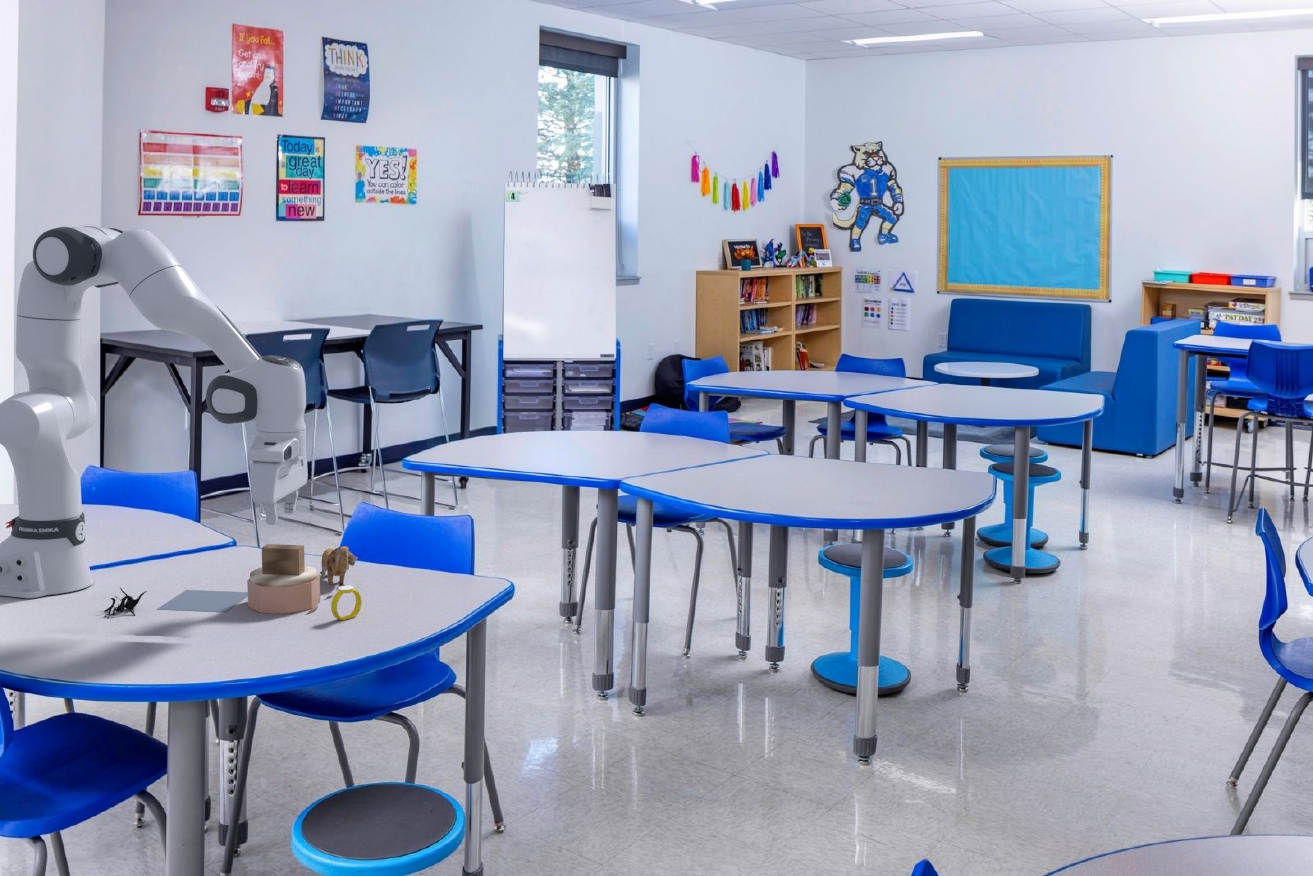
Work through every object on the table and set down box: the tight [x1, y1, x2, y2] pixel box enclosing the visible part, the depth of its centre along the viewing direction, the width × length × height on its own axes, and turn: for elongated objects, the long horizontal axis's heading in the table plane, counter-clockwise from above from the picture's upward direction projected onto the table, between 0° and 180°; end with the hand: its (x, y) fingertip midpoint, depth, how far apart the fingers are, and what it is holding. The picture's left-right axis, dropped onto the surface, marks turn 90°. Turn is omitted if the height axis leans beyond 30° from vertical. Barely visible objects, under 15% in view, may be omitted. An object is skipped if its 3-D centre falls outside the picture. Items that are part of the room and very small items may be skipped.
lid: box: [249, 543, 318, 587], centre depth 232 cm, size 12×12×6 cm
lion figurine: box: [319, 546, 358, 588], centre depth 250 cm, size 15×5×9 cm, turn 36°
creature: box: [103, 587, 148, 619], centre depth 224 cm, size 8×5×8 cm
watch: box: [330, 585, 363, 621], centre depth 228 cm, size 6×3×6 cm, turn 142°
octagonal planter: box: [246, 574, 321, 616], centre depth 232 cm, size 12×12×6 cm
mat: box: [156, 589, 248, 613], centre depth 233 cm, size 13×13×1 cm
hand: (281, 518), depth 230 cm, fingers open, 8 cm apart
